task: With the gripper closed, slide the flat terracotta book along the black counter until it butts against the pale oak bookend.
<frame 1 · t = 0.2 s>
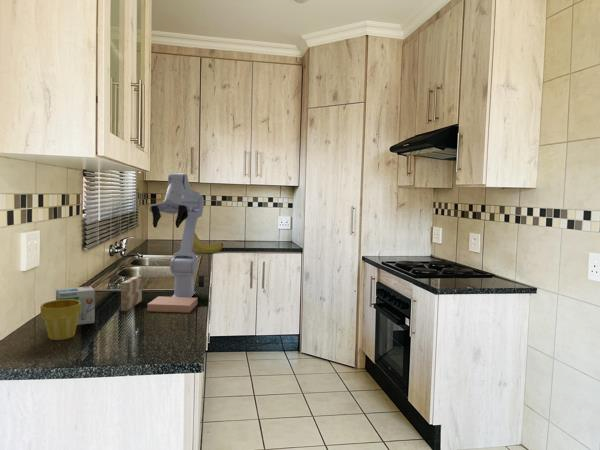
hand: (165, 225, 153), 31 cm above the worktop, tool tilted 45°, fingers open, 7 cm apart
banana: (206, 253, 310), on the worktop
light bulb box: (75, 323, 143), on the worktop
plant pot: (61, 337, 129), on the worktop
book: (173, 308, 165), on the worktop
bookend: (131, 305, 166), on the worktop
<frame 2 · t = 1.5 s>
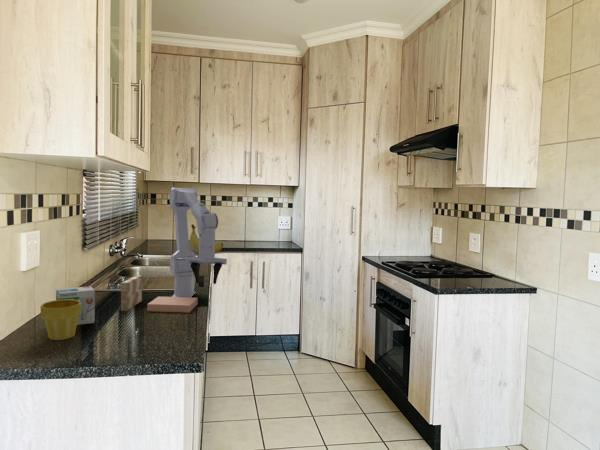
hand: (206, 283, 164), 9 cm above the worktop, tool pointing down, fingers open, 6 cm apart
nothing on the worktop moved.
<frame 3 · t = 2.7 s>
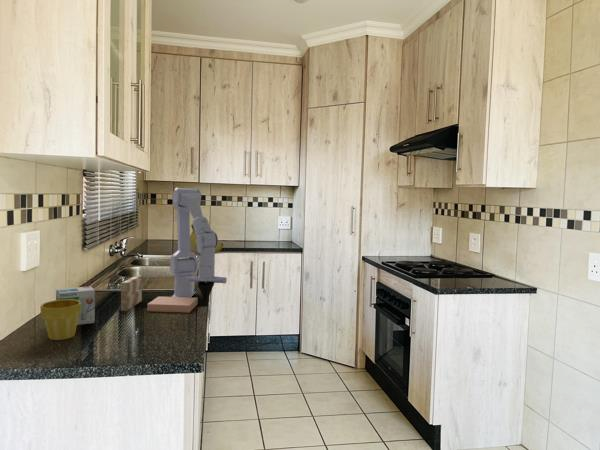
hand: (206, 302, 165), 2 cm above the worktop, tool pointing down, fingers closed
nothing on the worktop moved.
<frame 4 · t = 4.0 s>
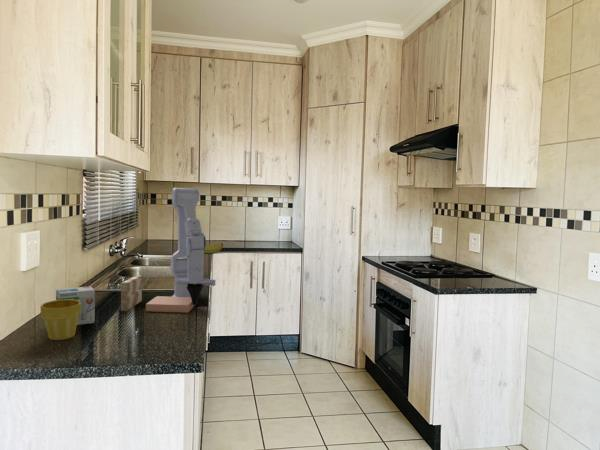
hand: (194, 304, 165), 1 cm above the worktop, tool pointing down, fingers closed
book: (171, 308, 165), on the worktop, touching gripper
everything else where it was.
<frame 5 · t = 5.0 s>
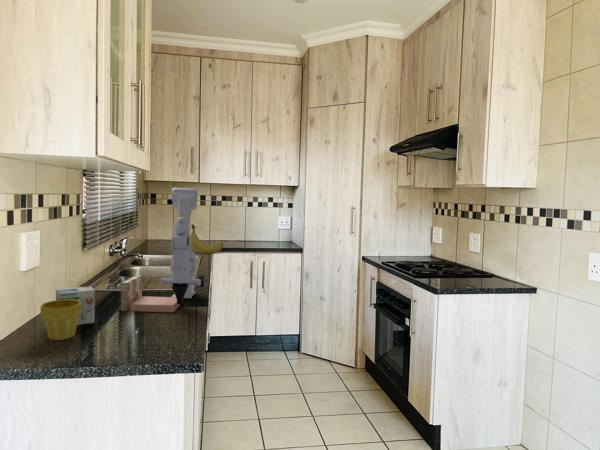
hand: (180, 303, 165), 1 cm above the worktop, tool pointing down, fingers closed
book: (156, 308, 165), on the worktop, touching gripper
everything else where it was.
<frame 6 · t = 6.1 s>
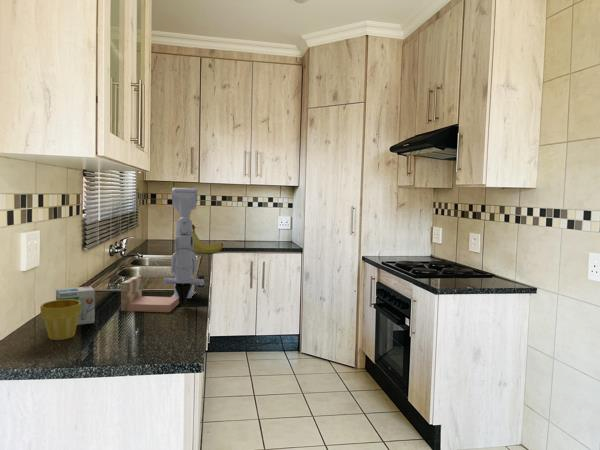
hand: (183, 303, 165), 1 cm above the worktop, tool pointing down, fingers closed
book: (153, 308, 165), on the worktop
everything else where it was.
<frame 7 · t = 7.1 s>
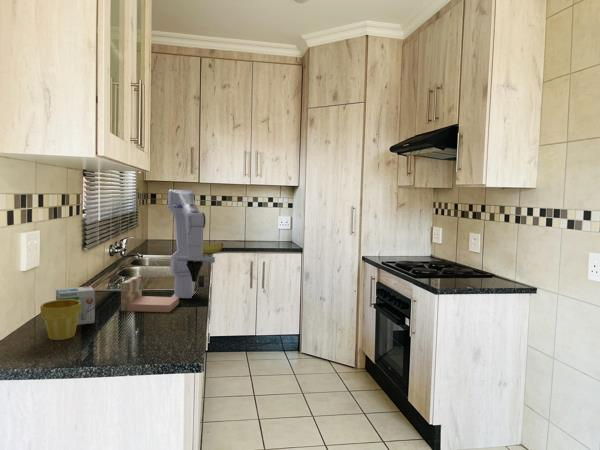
hand: (194, 281, 167), 9 cm above the worktop, tool pointing down, fingers closed
nothing on the worktop moved.
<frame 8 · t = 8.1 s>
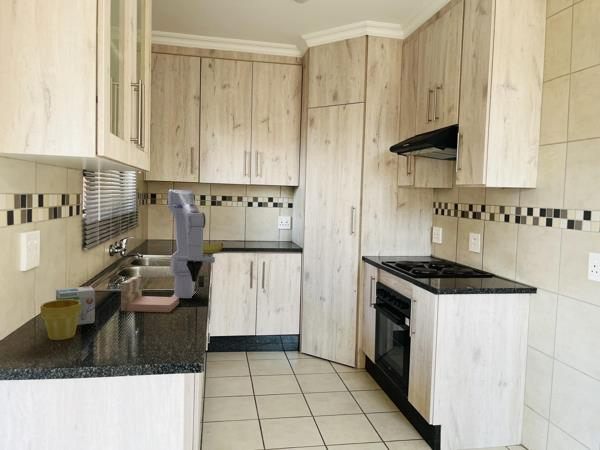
hand: (194, 281, 167), 9 cm above the worktop, tool pointing down, fingers closed
nothing on the worktop moved.
at the end: book 0.5 cm from the target spot, on the worktop; book tilted 0°; book moved 7.0 cm from its start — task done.
